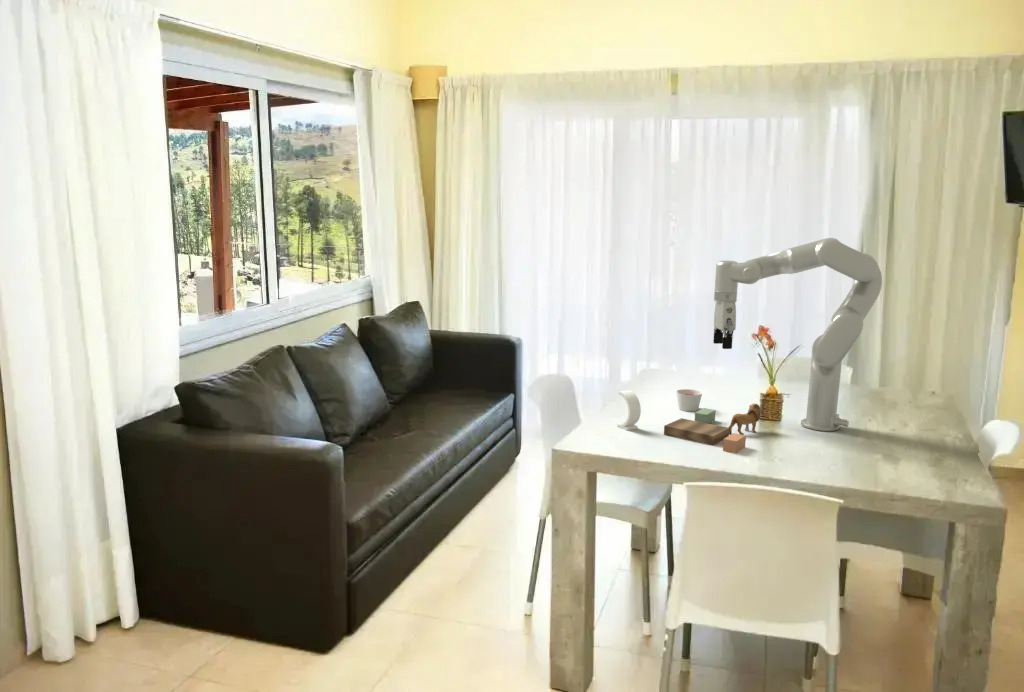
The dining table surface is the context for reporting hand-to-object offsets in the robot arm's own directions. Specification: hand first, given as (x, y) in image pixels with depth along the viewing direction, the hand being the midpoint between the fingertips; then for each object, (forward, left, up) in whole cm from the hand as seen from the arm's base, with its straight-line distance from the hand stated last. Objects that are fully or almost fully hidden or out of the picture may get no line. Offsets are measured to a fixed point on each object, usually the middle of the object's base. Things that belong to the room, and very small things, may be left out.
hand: (722, 346), depth 294 cm
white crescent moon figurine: (+16, +35, -25) cm, 46 cm away
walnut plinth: (-5, +28, -25) cm, 38 cm away
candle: (+12, -1, -25) cm, 28 cm away
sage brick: (0, +11, -25) cm, 27 cm away
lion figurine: (-15, +14, -25) cm, 32 cm away
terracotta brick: (-20, +33, -25) cm, 46 cm away
